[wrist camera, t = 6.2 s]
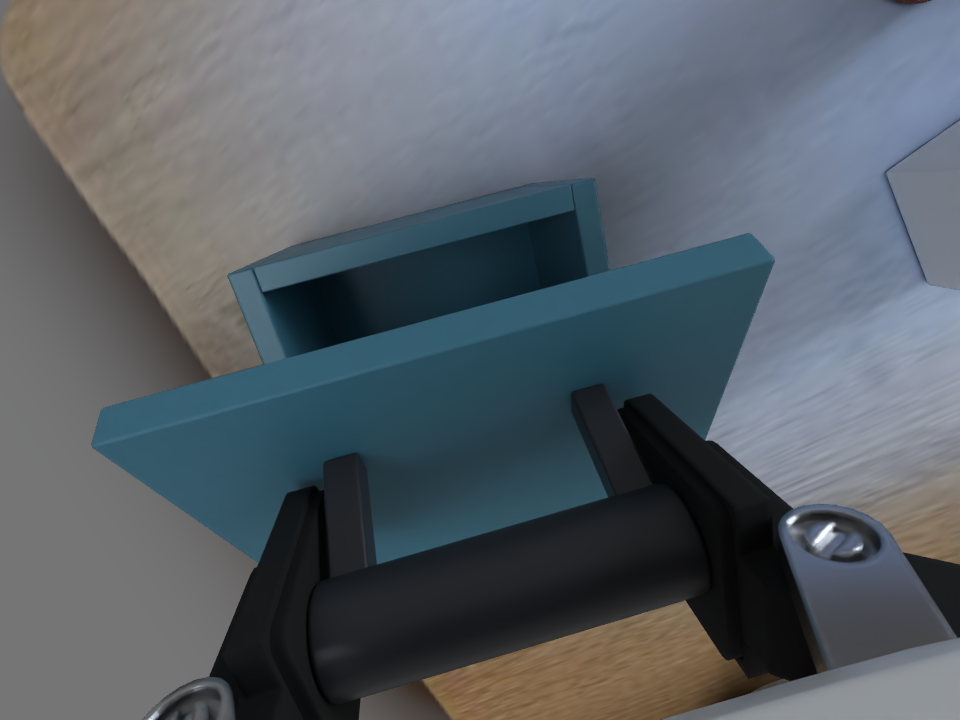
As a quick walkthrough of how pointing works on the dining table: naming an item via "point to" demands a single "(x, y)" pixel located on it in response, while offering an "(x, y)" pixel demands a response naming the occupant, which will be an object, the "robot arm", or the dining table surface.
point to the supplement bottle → (912, 1)
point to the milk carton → (933, 205)
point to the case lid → (466, 463)
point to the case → (421, 267)
